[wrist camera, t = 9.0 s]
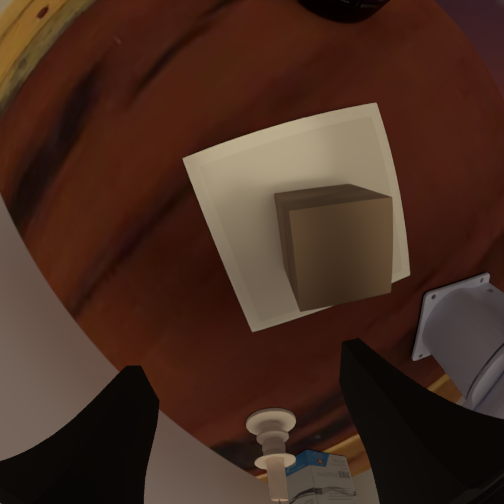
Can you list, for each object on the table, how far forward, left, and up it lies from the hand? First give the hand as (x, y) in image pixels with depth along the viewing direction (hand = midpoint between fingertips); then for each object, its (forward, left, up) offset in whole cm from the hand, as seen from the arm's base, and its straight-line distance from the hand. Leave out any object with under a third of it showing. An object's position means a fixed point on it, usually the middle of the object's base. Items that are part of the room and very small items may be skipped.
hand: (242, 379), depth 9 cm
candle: (0, +18, -11) cm, 21 cm away
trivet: (-5, -3, -11) cm, 12 cm away
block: (-5, -3, -8) cm, 10 cm away
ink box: (-5, +31, -11) cm, 33 cm away
